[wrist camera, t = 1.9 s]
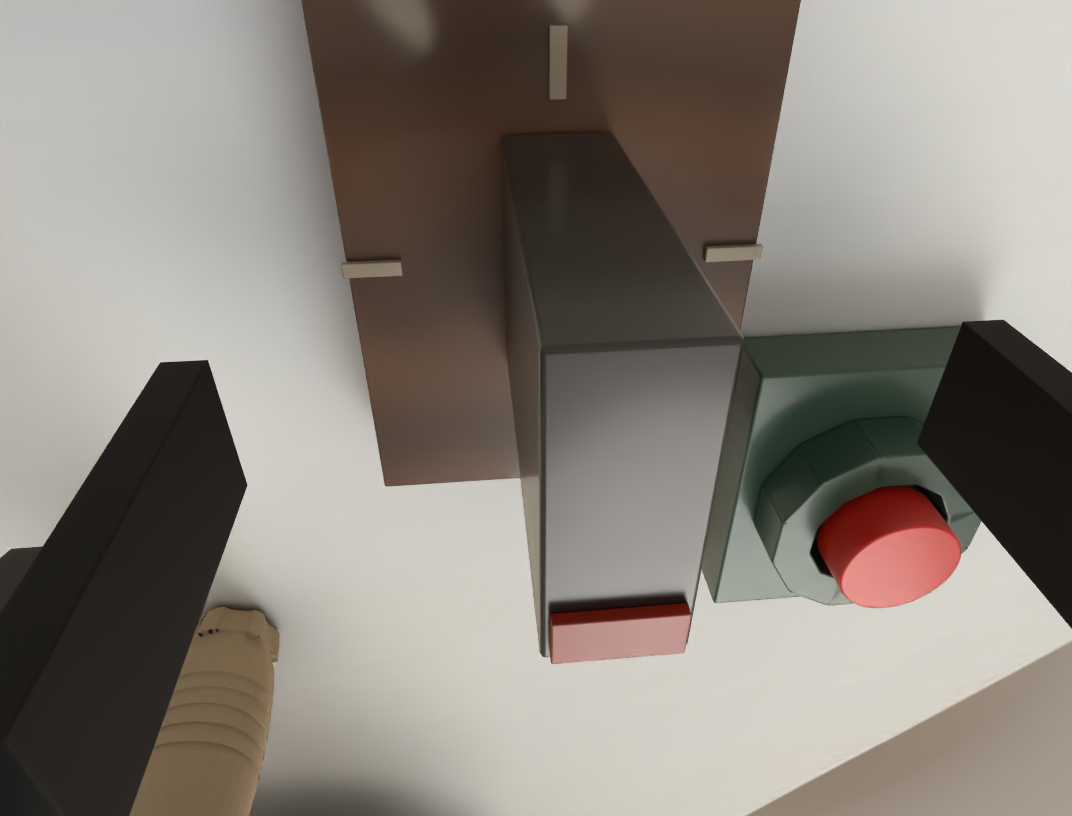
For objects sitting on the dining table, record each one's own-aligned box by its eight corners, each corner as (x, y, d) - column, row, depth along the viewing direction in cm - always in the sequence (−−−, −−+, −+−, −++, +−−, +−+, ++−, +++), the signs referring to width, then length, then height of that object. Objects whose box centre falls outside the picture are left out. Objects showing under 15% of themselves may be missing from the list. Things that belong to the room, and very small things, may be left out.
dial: (500, 134, 16) (541, 360, 8) (613, 130, 16) (755, 348, 8) (507, 367, 19) (541, 673, 12) (600, 361, 19) (692, 659, 12)
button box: (737, 337, 22) (785, 413, 19) (983, 324, 23) (1070, 396, 20) (697, 559, 28) (728, 645, 25) (893, 544, 29) (949, 627, 26)
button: (831, 487, 21) (857, 530, 20) (946, 480, 22) (981, 521, 20) (805, 570, 24) (827, 613, 22) (910, 562, 24) (939, 604, 22)
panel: (303, -91, 15) (278, -87, 13) (776, -96, 16) (827, -93, 14) (387, 435, 23) (381, 491, 21) (697, 416, 24) (720, 468, 22)
